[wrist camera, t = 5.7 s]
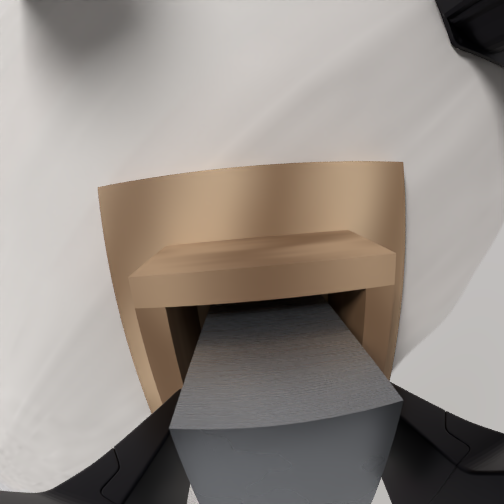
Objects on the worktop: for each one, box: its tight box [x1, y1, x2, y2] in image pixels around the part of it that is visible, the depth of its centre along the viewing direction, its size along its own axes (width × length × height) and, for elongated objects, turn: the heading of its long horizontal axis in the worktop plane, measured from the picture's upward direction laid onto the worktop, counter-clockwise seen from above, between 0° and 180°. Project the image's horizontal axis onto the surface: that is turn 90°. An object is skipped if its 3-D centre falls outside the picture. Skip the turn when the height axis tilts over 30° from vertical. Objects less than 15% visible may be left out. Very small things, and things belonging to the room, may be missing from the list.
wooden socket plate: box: [98, 161, 405, 413], centre depth 12 cm, size 14×14×6 cm
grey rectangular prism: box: [169, 294, 403, 504], centre depth 9 cm, size 4×4×9 cm
